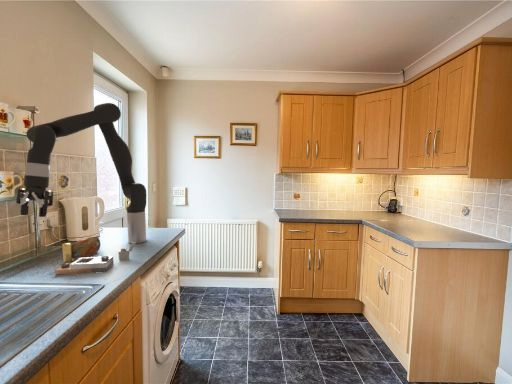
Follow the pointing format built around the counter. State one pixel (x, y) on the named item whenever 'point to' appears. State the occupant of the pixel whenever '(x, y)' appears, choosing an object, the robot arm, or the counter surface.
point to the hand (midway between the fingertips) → (33, 215)
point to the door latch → (86, 265)
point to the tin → (85, 247)
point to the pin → (67, 252)
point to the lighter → (125, 252)
